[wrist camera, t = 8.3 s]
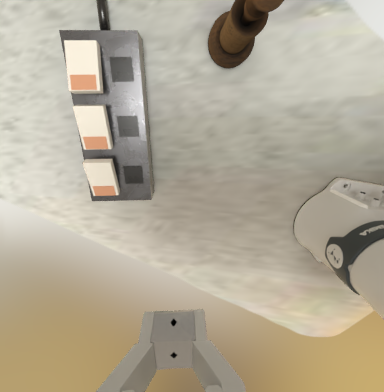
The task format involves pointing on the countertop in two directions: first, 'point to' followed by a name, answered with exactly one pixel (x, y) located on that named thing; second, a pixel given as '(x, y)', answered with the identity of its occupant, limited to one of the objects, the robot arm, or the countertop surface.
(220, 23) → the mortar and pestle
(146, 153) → the power strip
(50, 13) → the countertop surface
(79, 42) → the rocker
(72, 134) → the countertop surface
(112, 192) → the block
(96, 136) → the rocker middle
